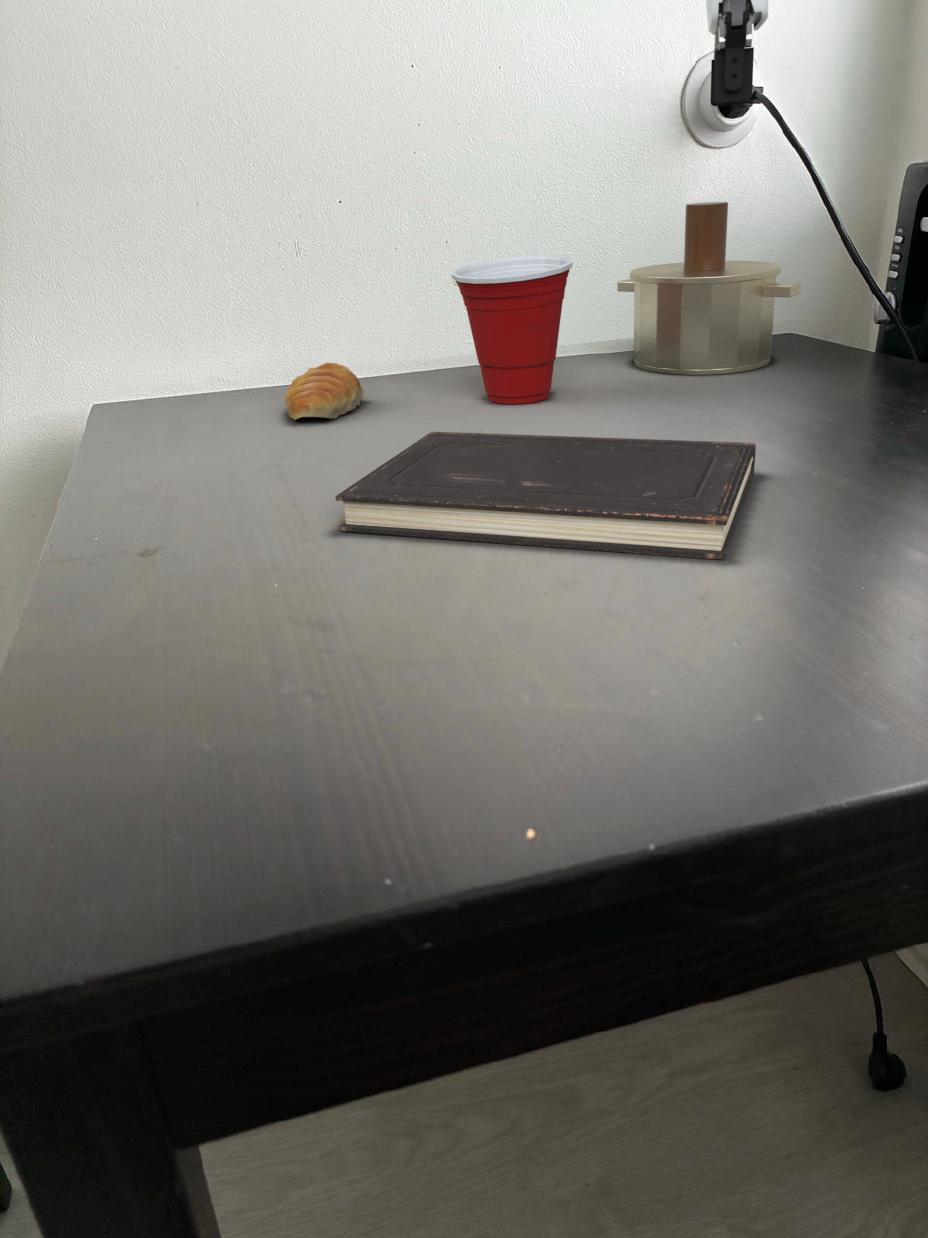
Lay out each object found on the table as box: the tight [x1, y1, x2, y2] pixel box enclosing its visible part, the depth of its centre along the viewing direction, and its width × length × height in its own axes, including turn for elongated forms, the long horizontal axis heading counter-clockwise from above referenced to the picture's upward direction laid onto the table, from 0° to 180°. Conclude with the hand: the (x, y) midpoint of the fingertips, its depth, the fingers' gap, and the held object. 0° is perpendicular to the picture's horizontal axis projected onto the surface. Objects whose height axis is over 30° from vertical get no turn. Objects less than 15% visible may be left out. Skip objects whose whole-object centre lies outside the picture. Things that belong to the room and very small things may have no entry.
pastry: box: [284, 362, 365, 421], centre depth 90 cm, size 9×7×4 cm
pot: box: [616, 275, 802, 376], centre depth 101 cm, size 14×19×8 cm
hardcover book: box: [335, 431, 757, 561], centre depth 63 cm, size 16×23×2 cm
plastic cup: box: [450, 254, 574, 405], centre depth 90 cm, size 11×11×12 cm
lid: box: [629, 201, 782, 284], centre depth 98 cm, size 15×15×7 cm
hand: (730, 102), depth 92 cm, fingers open, 9 cm apart
